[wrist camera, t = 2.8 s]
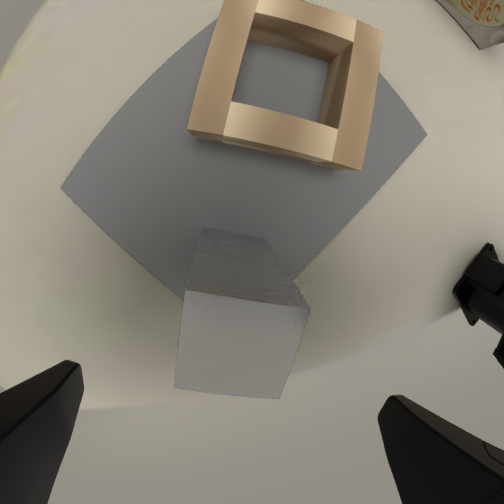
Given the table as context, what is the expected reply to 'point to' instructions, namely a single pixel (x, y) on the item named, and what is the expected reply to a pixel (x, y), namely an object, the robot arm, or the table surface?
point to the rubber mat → (229, 166)
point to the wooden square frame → (304, 42)
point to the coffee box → (479, 19)
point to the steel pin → (238, 319)
